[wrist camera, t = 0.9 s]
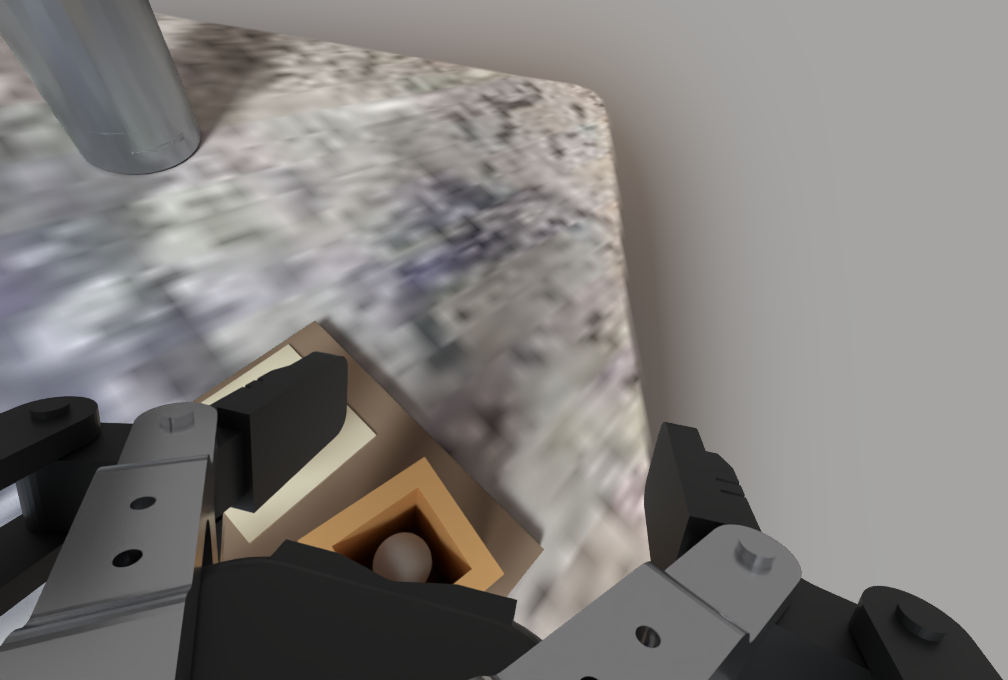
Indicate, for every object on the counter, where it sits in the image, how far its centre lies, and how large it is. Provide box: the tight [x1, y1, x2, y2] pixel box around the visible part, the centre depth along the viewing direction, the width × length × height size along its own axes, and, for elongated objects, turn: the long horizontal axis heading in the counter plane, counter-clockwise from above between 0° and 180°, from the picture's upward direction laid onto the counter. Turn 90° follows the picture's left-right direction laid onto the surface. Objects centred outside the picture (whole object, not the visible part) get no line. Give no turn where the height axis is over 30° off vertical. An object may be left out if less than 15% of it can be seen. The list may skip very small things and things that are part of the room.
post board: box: [193, 321, 544, 597], centre depth 26 cm, size 22×14×10 cm, turn 48°
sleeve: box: [298, 457, 504, 591], centre depth 23 cm, size 6×6×11 cm
